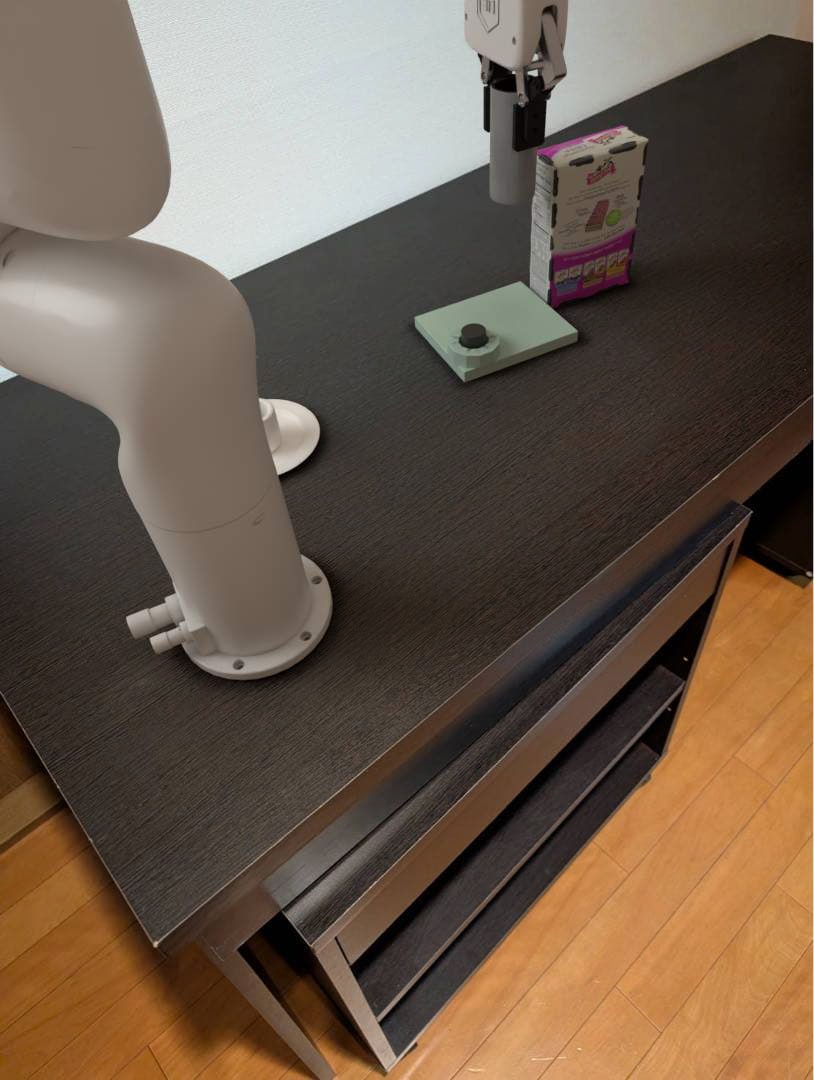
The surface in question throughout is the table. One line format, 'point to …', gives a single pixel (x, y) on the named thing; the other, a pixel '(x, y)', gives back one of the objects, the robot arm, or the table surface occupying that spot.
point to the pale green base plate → (496, 330)
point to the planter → (508, 148)
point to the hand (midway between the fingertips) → (513, 135)
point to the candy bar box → (585, 215)
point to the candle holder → (289, 432)
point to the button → (473, 336)
